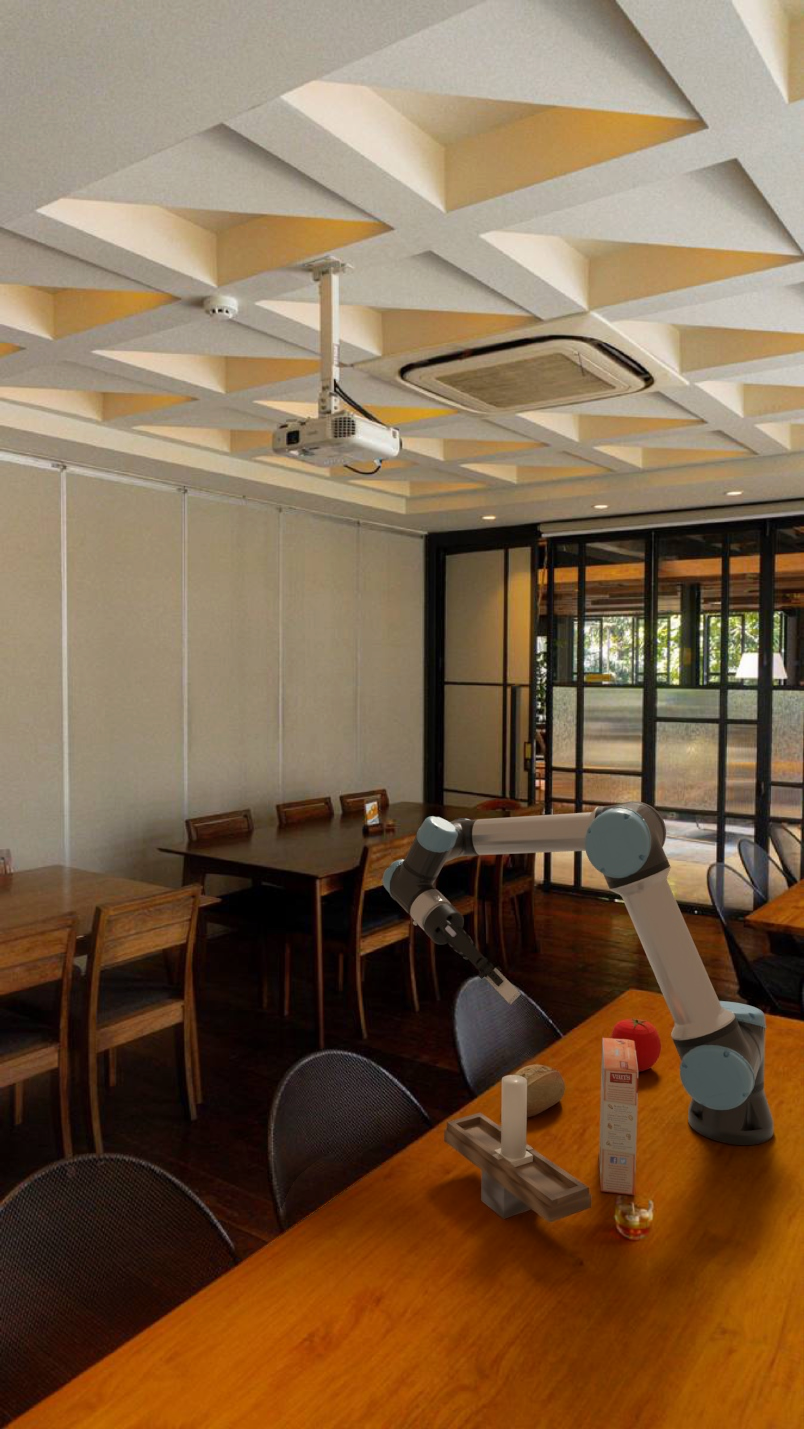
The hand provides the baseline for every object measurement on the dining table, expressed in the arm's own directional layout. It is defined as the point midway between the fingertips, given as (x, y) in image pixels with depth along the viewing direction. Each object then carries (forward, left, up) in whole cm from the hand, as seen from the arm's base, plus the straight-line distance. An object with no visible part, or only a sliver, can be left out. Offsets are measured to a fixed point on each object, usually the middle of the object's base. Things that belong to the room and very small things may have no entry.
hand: (514, 997), depth 169 cm
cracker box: (-19, -1, -27) cm, 33 cm away
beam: (-8, +17, -27) cm, 33 cm away
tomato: (-7, -45, -27) cm, 53 cm away
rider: (-8, +17, -20) cm, 27 cm away
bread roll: (+3, -16, -27) cm, 32 cm away
